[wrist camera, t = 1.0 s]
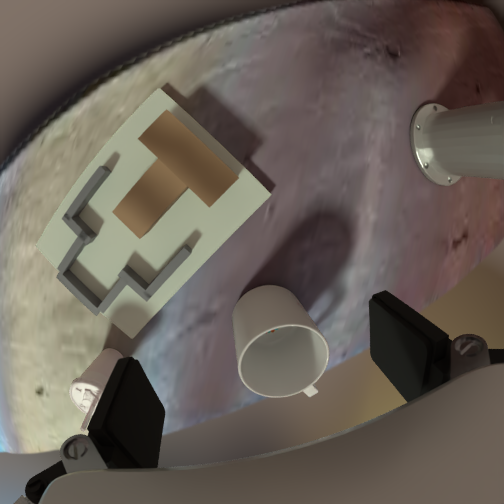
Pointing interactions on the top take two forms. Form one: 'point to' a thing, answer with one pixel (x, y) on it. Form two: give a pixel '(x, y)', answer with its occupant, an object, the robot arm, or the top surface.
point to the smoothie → (93, 383)
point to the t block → (172, 175)
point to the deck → (125, 241)
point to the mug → (277, 343)
